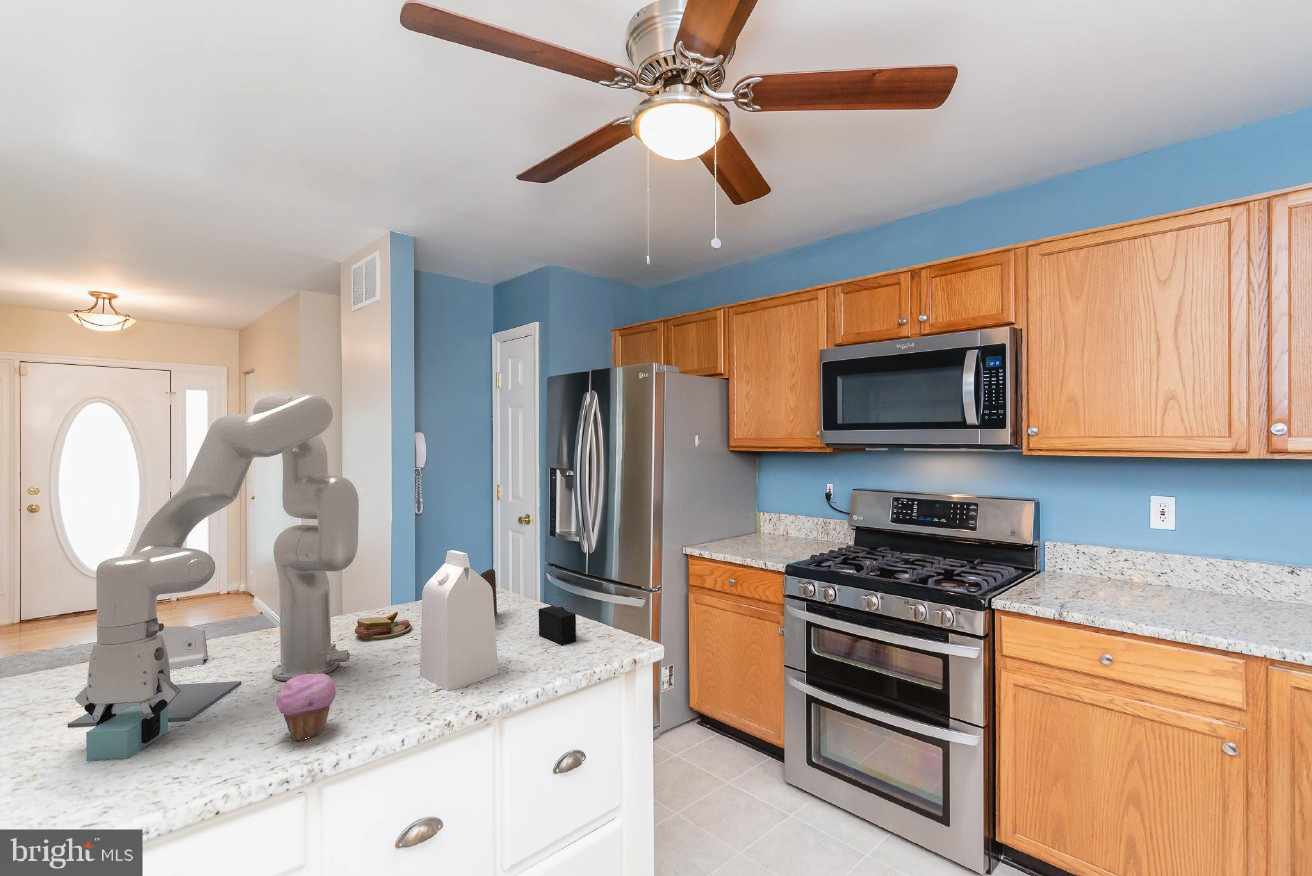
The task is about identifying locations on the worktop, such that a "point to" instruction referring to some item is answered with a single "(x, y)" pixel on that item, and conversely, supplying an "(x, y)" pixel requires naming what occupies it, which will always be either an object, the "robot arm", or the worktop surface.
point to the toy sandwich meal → (382, 627)
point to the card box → (120, 735)
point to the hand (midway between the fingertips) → (128, 739)
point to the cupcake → (306, 704)
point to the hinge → (185, 645)
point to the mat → (178, 702)
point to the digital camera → (557, 625)
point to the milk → (457, 626)
